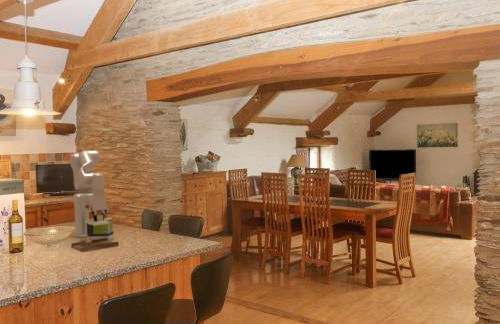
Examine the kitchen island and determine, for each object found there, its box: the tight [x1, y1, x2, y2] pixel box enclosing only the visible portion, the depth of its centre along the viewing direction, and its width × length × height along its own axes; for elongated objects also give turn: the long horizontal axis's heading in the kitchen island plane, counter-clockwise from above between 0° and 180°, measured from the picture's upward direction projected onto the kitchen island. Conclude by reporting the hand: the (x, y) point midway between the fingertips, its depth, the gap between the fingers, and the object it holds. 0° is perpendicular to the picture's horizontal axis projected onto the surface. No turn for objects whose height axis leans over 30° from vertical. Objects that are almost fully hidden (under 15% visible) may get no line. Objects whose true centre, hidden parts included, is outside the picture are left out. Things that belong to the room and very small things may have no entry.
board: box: [70, 237, 120, 253], centre depth 297 cm, size 18×24×5 cm
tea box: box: [86, 217, 114, 241], centre depth 317 cm, size 15×10×15 cm
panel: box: [85, 213, 109, 226], centre depth 297 cm, size 14×10×5 cm
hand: (98, 220), depth 298 cm, fingers closed on panel, 4 cm apart
